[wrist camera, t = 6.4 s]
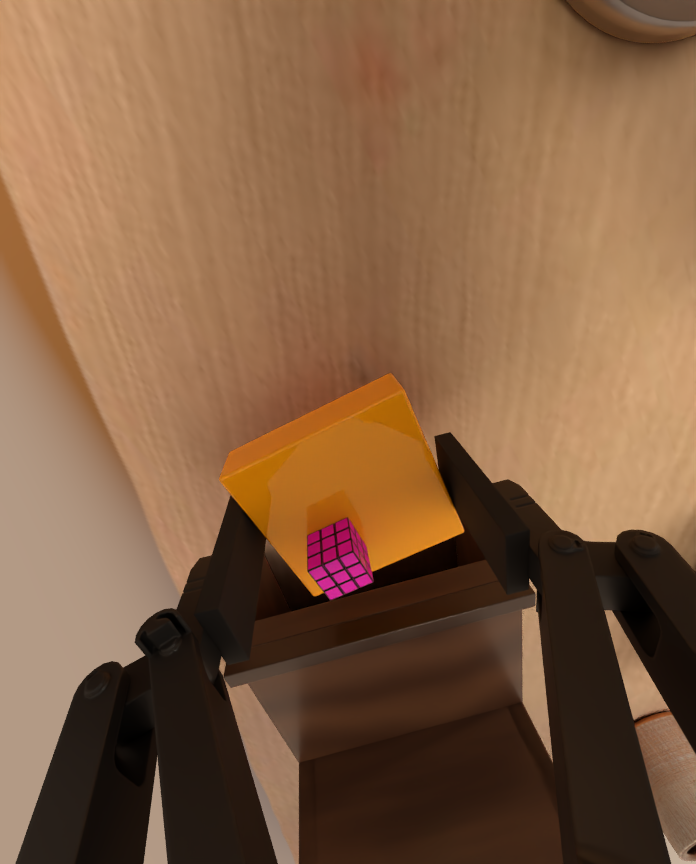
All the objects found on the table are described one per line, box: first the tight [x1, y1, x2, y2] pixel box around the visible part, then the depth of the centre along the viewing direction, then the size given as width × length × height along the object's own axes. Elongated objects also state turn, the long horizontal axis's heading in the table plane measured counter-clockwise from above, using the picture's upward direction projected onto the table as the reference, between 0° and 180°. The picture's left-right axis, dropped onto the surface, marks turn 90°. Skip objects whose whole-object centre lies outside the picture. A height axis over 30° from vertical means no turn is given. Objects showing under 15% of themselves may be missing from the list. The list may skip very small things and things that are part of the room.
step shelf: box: [224, 506, 563, 864], centre depth 21 cm, size 23×16×20 cm
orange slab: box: [219, 373, 464, 601], centre depth 15 cm, size 8×8×4 cm
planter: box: [634, 712, 696, 861], centre depth 41 cm, size 11×11×10 cm
